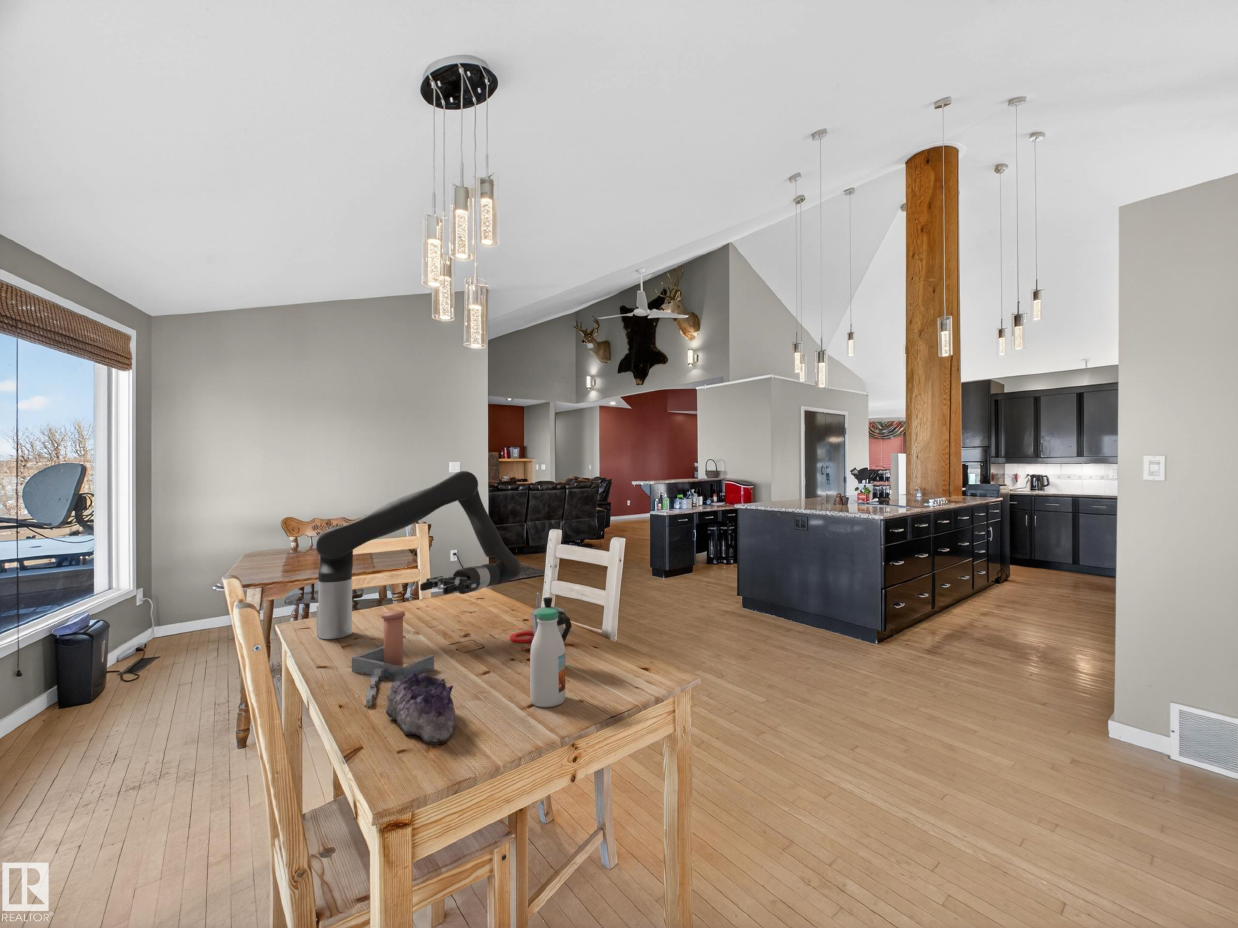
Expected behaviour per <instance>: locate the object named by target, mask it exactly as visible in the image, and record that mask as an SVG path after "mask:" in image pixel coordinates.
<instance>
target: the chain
mask: <svg viewBox="0 0 1238 928" xmlns="http://www.w3.org/2000/svg"><path fill="white" fill-rule="evenodd" d="M379 681H380V680H379V676H376V675H371V676H370V678H369V688H367V690H366V694H365V698H366V699H365V703H366V705H365V708H372V704H373V701H374V700H375V699H376V694H377V687H376V686H377V685H379Z"/></svg>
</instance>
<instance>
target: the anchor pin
mask: <svg viewBox="0 0 1238 928" xmlns="http://www.w3.org/2000/svg"><path fill="white" fill-rule="evenodd" d="M405 616H406V611H405V610H401V609H398V610H395V609H394V610H387V611H384V612H381V617H380V618H381V619H383V646H384V661H383V662H384V663H389V664H394V665H399V666H404V617H405Z"/></svg>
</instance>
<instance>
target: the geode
mask: <svg viewBox="0 0 1238 928" xmlns="http://www.w3.org/2000/svg"><path fill="white" fill-rule="evenodd" d="M453 688H454V685H447V682H446V680H445V678H442V679H440V678H438V677H432V676H431V675H429V674H428V673H424V674H422V675H419V674H418V673H417V672H413V673H412V674H410V675H409V676H407V677H406V678H405V679H404V680H402V681H393V682H392V683H391V685H390V687H389V690H388V694H387V695H386V698H387V701H386V710H385V714H386V715H387V717H389V718H390V719H393V720H394V721H396V722H397V726H398V727H399V728H400V729H401V730H402V733H403V734H404V735H407V736H408V735H410V736H415V735H416V736H418V737H420V738H421V739H422V742H423V743H424V744H425V745H436V744H438V745H440V744H444V743H447V742H449V741H450V740H451V738H452V737H453V734H454V733H455V731H456V728H457V721H456V709H455V706H454V701H453V698H452V696H451V693H452V690H453Z"/></svg>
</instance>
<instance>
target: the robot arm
mask: <svg viewBox="0 0 1238 928" xmlns="http://www.w3.org/2000/svg"><path fill="white" fill-rule="evenodd" d="M456 502H458V503H459V504H460V506H461V507H462V509H463V512H465V514H466V516H467V517H468V520H469V522H470V524H471V527H472V530H473V531H474V534H475V536H476V539H477V541H478V543H479V546H480V547H481V550H482V551H483V553H484V555H485V557H487V558H496V559H498V562H496V563H494V564H493V563H485V564H480V565H472V566H468V567H463V568H459V569H457V570H456V571H455V572H454V573H453V575H448V576H442V575H440V576H435V577H430V578H429V577H428V578H426V580H425V581H424V582H421V583H420V584H419V590H420V591H421V592H424V591H428V590H433V589H434V590H435V589H437V590H438V591H442V594H443V595H450V594H453V593H454V594H457V593H458V594H460V595H466V594H469V593H473V592H476V591H480V590H482V589H484V588H487V587H492V586H498V585H502V584H505V583H507V582H509V581H511V580H514V579H515V578H517V577H519V575H520V574H521V564H520V562H519V559H517V557H516V556H515V554H513V553H512V551H510V549H509V548H508V547H507V546H506V545H505V543H504V540H503V539H502V537H501V534H500V532H499V530H498V529H497V527H496V525H495V523H494V522H493V519H491V517H490V515H489V514H488V512H487V511H486V508H485V506H484V503H483V502H482V499H481V494H480V492H479V481H478V477H476V475H475V474H474V473H473V472H471V471H466V470H462V471H461V470H460V471H458V472H455V473H454V474H452V475H450V476H449V477H447V478H445V479H443V480H442V481H440V482H437V483H436V484H434V485H432V486H429V487H428V488H424V489H421V490H418V491H415V492H412V493H410V494H407V495H405V496H402V497H400V498H397V499H395V500H392V501H390V502H388V503H386V504H384V505H382V506H381V507H378V508H376V509H375V510H373V511H371V512H370V513H369V514H367V515H365V516H363V517H362V518H359V519H357V520H355V521H353V522H349V523H347V524H345V525H341V526H334V527H333V526H332V527H330V528H328V529H326V530H325V531H323V532H322V533H321V534H320V535H319V536H318V538H317V540H316V543H315V544H316V546H315V548H316V551H317V553H318V555H320V556H319V559H320V560H319V569H318V573H317V575H318V603H317V604H316V636H317V637H318V638H319V639H322V640H335V639H341V638H345V637H348V636H350V635H351V634H352V633H353V578H352V576H353V565H354V563H353V562H354V550H355V549H357V548H358V547H360V546H362V545H365V544H366V543H368V542H370V541H373V540H375V539H378V538H381V537H385V536H386V535H387V536H388V535H391V534H393V533H395V532H397V531H400V530H403V529H404V528H407V527H409V526H411V525H413V524H415V523H417V522H419V521H421V520H423V519H424V518H426V517H427V516H429V515H431V514H432V513H434V512H435V511H437V510H438V509H440V508H442V507H444V506H446V505H449V504H452V503H456Z"/></svg>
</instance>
